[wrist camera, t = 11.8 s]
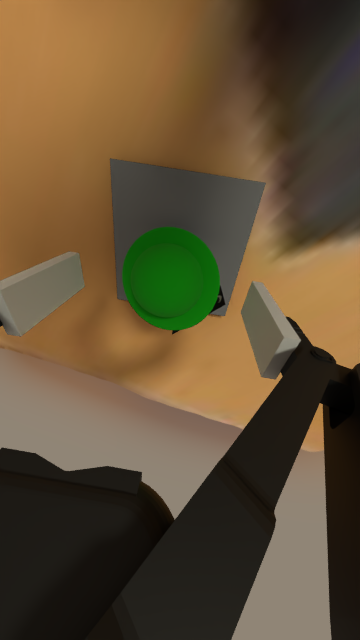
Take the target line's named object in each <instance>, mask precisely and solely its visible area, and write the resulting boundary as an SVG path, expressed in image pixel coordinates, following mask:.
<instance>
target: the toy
mask: <svg viewBox="0 0 360 640" xmlns="http://www.w3.org/2000/svg"><path fill="white" fill-rule="evenodd" d="M122 282H123V287H124V291H125V294H126V297H127V299H128V301H129V303H130V305H131V306H132V308H133V309H134V310H135V312H136V313H137V314H138V315H139V316H140V317H141V318H143V319H144V320H145V321H147V322H148V323H150V324H152V325H154V326H156V327H158V328H162V329H166V330H173V332H172V334H174V333H176V332H178V331H179V330H182V329H186V328H190V327H192V326H194V325H196V324H198V323H199V322H201V321H202V320H203V319H204V318H205V317H206V316H207V315H208V314H210V313H212V312H213V311H215V310H217V309H219V308H221V307H222V306H224V305H226V304H225V300H224V297H223V293H222V289H221V285H220V275H219V269H218V265H217V263H216V260H215V258H214V256H213V254H212V252H211V251H210V249H209V248H208V246H207V245H206V244H205V243H204V242H203V241H202V240H201V239H200V238H198V237H197V236H196V235H194V234H192V233H191V232H189V231H186V230H184V229H181V228H176V227H160V228H156V229H153V230H150V231H148V232H146V233H144V234H143V235H141V236H140V237H139V238H138V239H137V240H136V241H135V242H134V243H133V244H132V246H131V247H130V249H129V250H128V252H127V254H126V257H125V259H124V264H123V269H122Z"/></svg>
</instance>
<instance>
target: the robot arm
mask: <svg viewBox="0 0 360 640" xmlns="http://www.w3.org/2000/svg"><path fill="white" fill-rule="evenodd" d="M84 287H85V285H84V279H83V274H82V268H81V262H80V256H79V253H76V252H70V251H69V252H66V253H64V254H62V255H59V256H57V257H55V258H52V259H50V260H48V261H45V262H43V263H41V264H38V265H36V266H34V267H31V268H29V269H27V270H24V271H22V272H19V273H17V274H15V275H12V276H10V277H8V278H5V279H3V280H1V281H0V327H1V326H2V325H3V327H4V329H5V331H6V333H7V334H9V335H15V336H22V335H24V334H25V333H26V332H27V331H29V330H30V329H31V328H32V327H34V326H35V325H36V324H38V323H39V322H40V321H41V320H43V319H44V318H45V317H47V316H48V315H49V314H50V313H52V312H53V311H54V310H56V309H57V308H58V307H59V306H61V305H62V304H63V303H64V302H66V301H67V300H68V299H70V298H71V297H72V296H73V295H75V294H76V293H77V292H79V291H80V290H81V289H82V288H84ZM241 315H242V318H243V321H244V324H245V327H246V330H247V333H248V337H249V340H250V343H251V346H252V349H253V352H254V355H255V359H256V362H257V365H258V368H259V371H260V374H261V377H264V378H270V379H276V378H277V377H278V375H279V373H280V372H281V373H282V376H283V377H282V378H281V380H280V381H279V383H278V384H277V385H276V387H275V388H274V389H273V391H272V392H271V393H270V395H269V396H268V397H267V399H266V400H265V401H264V403H263V404H262V405H261V407H260V408H259V409H258V411H257V412H256V413H255V415H254V416H253V418H252V419H251V420H250V422H249V423H248V424H247V426H246V427H245V428H244V430H243V431H242V433H241V434H240V435H239V436H238V438H237V439H236V440H235V442H234V443H233V445H232V446H231V447H230V448H229V450H228V451H227V453H226V454H225V455H224V456H223V458H221V460H220V461H219V462H218V463H217V465H216V466H215V467H214V469H213V470H212V471H211V473H210V474H209V475H208V477H207V478H206V479H205V481H204V482H203V483H202V485H201V486H200V487H199V489H198V490H197V491H196V493H195V494H194V495H193V497H192V498H191V499H190V501H189V502H188V503H187V505H186V506H185V507H184V509H183V510H182V511H181V513H180V514H179V515H178V517H177V518H176V519H175V520H174V518H173V516H172V514H171V512H170V510H169V508H168V507H167V505H166V504H165V502H164V501H163V499H162V498H161V497H160V496H159V495H158V494H157V493H156V491H154V490H153V489H152V488H151V487H150V486H148V485H147V484H145V483H143V482H142V481H141V478H142V472H138V471H132V470H126V469H121V468H115V467H109V466H105V467H97V468H90V469H83V470H75V471H64V470H62V469H60V468H59V467H57V466H55V465H54V464H52V463H51V462H49V461H47V460H46V459H44V458H42V457H41V456H39V455H37V454H36V453H30V452H24V451H19V450H13V449H7V448H1V449H0V640H231V638H232V636H233V633H234V631H235V628H236V626H237V623H238V621H239V618H240V616H241V613H242V611H243V608H244V605H245V603H246V601H247V598H248V596H249V593H250V591H251V588H252V586H253V583H254V581H255V578H256V575H257V573H258V570H259V568H260V565H261V563H262V560H263V558H264V555H265V553H266V550H267V548H268V545H269V543H270V540H271V538H272V535H273V531H274V528H275V522H276V518H275V515H274V510H275V507H276V504H277V502H278V499H279V497H280V494H281V492H282V490H283V488H284V485H285V483H286V480H287V478H288V476H289V473H290V471H291V469H292V466H293V464H294V462H295V459H296V457H297V455H298V452H299V450H300V448H301V445H302V443H303V441H304V438H305V436H306V434H307V431H308V429H309V427H310V424H311V422H312V420H313V417H314V415H315V413H316V410H317V408H318V406H319V403H321V404H323V426H324V454H325V483H326V484H325V485H326V514H327V543H328V572H329V602H330V623H331V636H332V640H360V363H359V364H357V365H356V366H355V367H354V368H353V369H349V368H346V367H343V366H341V365H338V364H336V360H335V359H334V357H333V356H331V355H330V354H329V353H328V352H326V351H325V350H323V349H321V348H318V347H315V346H313V345H312V344H311V343H310V341H309V340H308V338H307V337H306V336H305V334H303V331H302V330H301V329H300V327H299V326H298V325H297V323H296V322H295V321H293V320H292V319H291V318H290V317H285V316H284V314H283V313H282V311H281V310H280V308H279V307H278V305H277V304H276V302H275V301H274V299H273V298H272V296H271V295H270V293H269V292H268V290H267V289H266V287H265V286H264V284H263V283H261V282H255V281H252V283H251V286H250V289H249V291H248V294H247V297H246V300H245V302H244V305H243V308H242V310H241Z"/></svg>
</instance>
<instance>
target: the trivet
mask: <svg viewBox="0 0 360 640" xmlns="http://www.w3.org/2000/svg"><path fill="white" fill-rule="evenodd" d="M110 166H111V185H112V204H113V222H114V241H115V260H116V279H117V298H118V299H121V300H127V301H128V299H127V297H126V294H125V291H124V287H123V282H122V269H123V264H124V259H125V257H126V254H127V252H128V250H129V249H130V247H131V246H132V244H133V243H134V242H135V241H136V240H137V239H138V238H139V237H140V236H141V235H143V234H144V233H146V232H148V231H150V230H153V229H156V228H160V227H176V228H181V229H184V230H186V231H189V232H191V233H192V234H194V235H196V236H197V237H198V238H200V239H201V240H202V241H203V242H204V243H205V244H206V245H207V246H208V248H209V249H210V251H211V252H212V254H213V256H214V258H215V260H216V263H217V265H218V269H219V275H220V285H221V289H222V293H223V297H224V300H225V304H226V305H224V306H222V307H221V308H219V309H217V310H215V311H213V312H212V313H210V314H215V315H221V316H225V314H226V311H227V307H228V304H229V301H230V298H231V294H232V291H233V288H234V285H235V281H236V278H237V275H238V272H239V268H240V265H241V262H242V259H243V255H244V252H245V249H246V246H247V242H248V239H249V236H250V233H251V229H252V226H253V223H254V220H255V216H256V213H257V210H258V207H259V203H260V200H261V197H262V194H263V190H264V187H265V184H266V183H263V182H257V181H251V180H244V179H238V178H232V177H225V176H219V175H212V174H206V173H200V172H193V171H187V170H180V169H174V168H168V167H161V166H155V165H149V164H142V163H136V162H129V161H123V160H117V159H110Z"/></svg>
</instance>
